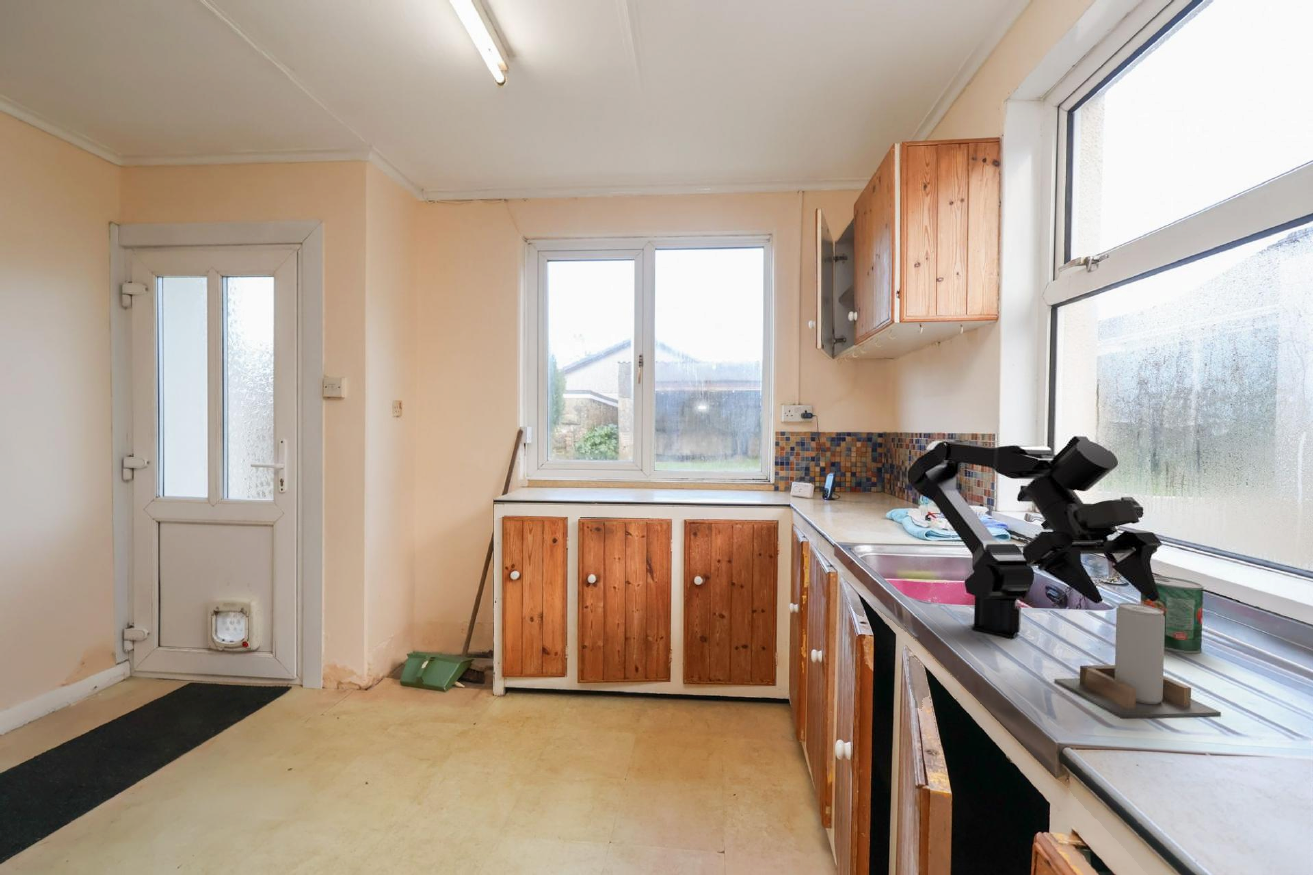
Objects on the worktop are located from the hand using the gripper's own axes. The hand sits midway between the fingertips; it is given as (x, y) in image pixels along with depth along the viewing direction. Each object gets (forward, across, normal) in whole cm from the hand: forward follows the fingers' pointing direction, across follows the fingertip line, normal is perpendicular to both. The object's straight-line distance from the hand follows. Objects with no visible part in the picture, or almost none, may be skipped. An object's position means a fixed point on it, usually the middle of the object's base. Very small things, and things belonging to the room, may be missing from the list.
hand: (1128, 601), depth 75 cm
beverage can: (+11, -2, +6) cm, 13 cm away
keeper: (+11, -1, +6) cm, 13 cm away
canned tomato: (0, +26, +20) cm, 32 cm away
